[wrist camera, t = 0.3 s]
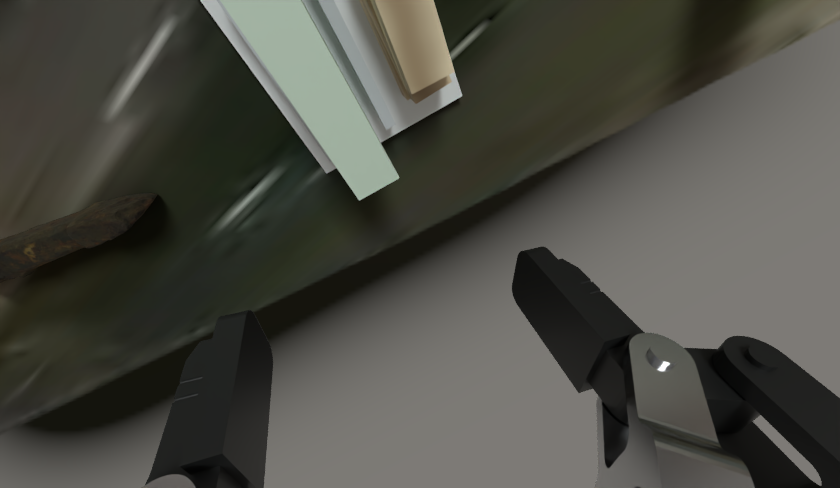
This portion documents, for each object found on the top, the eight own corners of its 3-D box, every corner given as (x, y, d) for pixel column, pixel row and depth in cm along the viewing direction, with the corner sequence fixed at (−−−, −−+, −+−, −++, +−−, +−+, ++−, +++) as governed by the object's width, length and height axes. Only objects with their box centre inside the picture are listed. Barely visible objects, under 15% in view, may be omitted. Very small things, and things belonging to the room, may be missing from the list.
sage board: (284, -32, 24) (272, -51, 14) (366, 116, 32) (399, 178, 21) (250, -11, 24) (210, -13, 14) (339, 131, 32) (359, 200, 21)
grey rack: (374, -155, 23) (386, -178, 20) (458, 93, 34) (474, 103, 31) (179, -34, 23) (161, -37, 20) (326, 169, 35) (328, 186, 32)
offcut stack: (381, -91, 24) (400, -111, 19) (440, 73, 32) (464, 87, 27) (330, -60, 24) (337, -72, 20) (401, 95, 32) (418, 113, 27)
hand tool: (-12, 281, 32) (-50, 316, 29) (-59, 251, 30) (-107, 286, 26) (178, 213, 34) (164, 239, 30) (149, 180, 31) (129, 204, 28)
